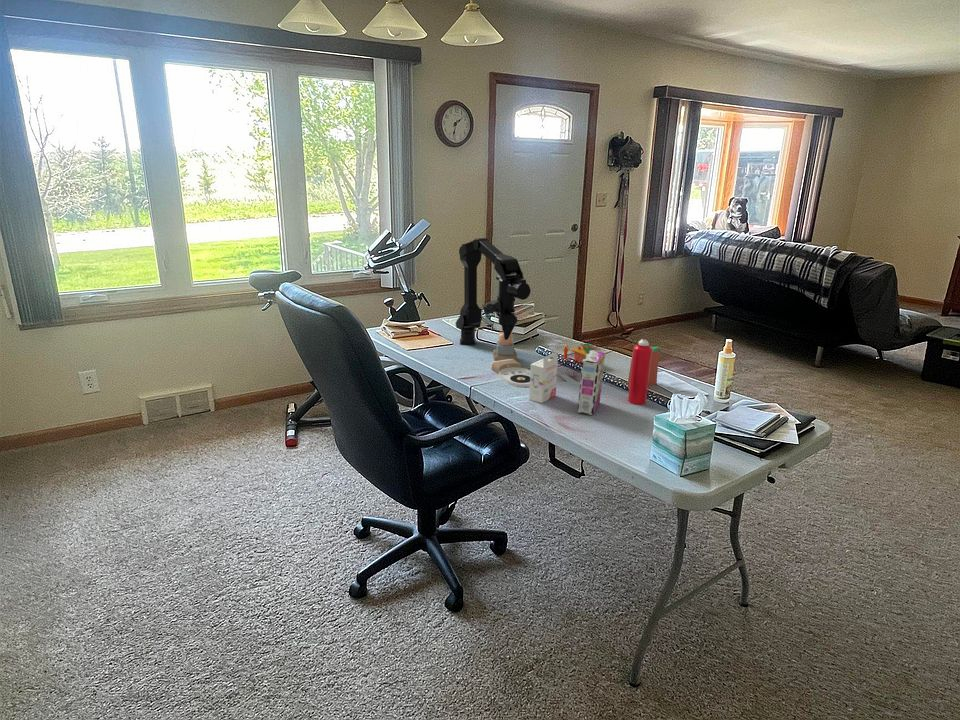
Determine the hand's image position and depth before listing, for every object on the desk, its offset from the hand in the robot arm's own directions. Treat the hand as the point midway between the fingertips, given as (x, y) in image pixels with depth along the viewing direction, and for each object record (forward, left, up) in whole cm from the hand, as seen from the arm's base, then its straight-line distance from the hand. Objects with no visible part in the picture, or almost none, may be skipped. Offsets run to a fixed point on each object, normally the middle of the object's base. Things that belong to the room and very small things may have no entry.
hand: (505, 336), depth 209 cm
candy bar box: (+43, +22, -10) cm, 49 cm away
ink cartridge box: (+35, +9, -10) cm, 37 cm away
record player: (+16, +3, -10) cm, 19 cm away
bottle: (+38, +38, -10) cm, 55 cm away
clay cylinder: (0, 0, -3) cm, 3 cm away
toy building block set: (+12, +35, -10) cm, 38 cm away
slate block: (0, 0, -6) cm, 7 cm away
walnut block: (0, 0, -10) cm, 10 cm away
